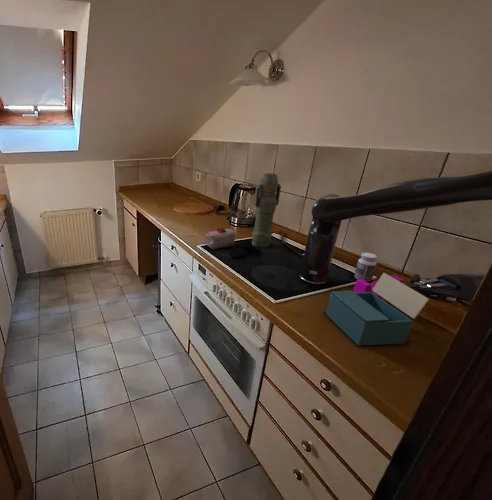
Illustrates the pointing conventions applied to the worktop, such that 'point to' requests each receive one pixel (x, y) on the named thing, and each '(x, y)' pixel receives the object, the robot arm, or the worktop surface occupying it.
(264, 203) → the thermos
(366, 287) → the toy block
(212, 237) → the food item
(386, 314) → the box
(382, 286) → the lid
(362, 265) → the pill bottle
